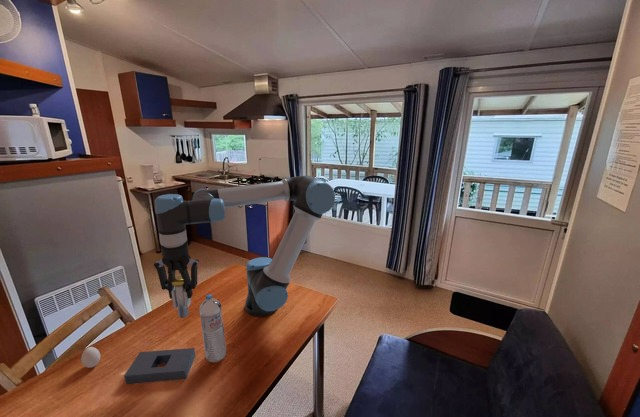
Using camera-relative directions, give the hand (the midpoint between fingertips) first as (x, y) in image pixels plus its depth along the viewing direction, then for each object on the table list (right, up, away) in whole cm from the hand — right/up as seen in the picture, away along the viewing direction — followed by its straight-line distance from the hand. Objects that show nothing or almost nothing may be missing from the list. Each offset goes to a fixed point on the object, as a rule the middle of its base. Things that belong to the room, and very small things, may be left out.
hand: (182, 305), depth 89 cm
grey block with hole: (-5, -21, -2) cm, 21 cm away
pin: (0, -4, +1) cm, 4 cm away
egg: (-30, -20, -1) cm, 36 cm away
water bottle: (+10, -19, +4) cm, 22 cm away
